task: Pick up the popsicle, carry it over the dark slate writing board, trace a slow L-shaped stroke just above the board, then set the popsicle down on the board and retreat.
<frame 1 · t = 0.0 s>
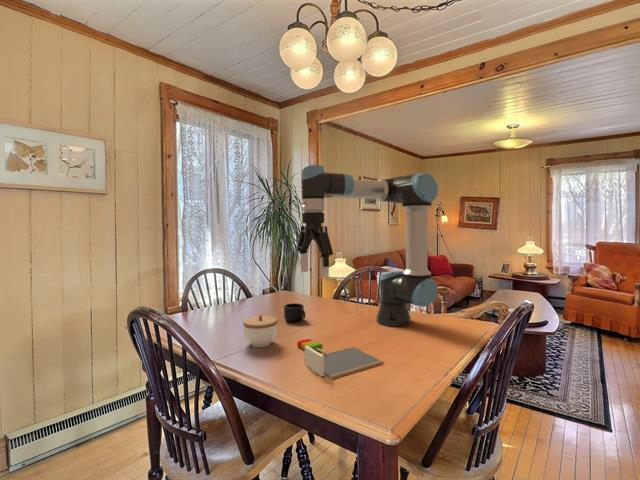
hand: (314, 274, 119), 28 cm above the table, fingers open, 13 cm apart
word card: (314, 369, 108), on the table
slate board: (343, 362, 114), on the table
popsicle: (313, 350, 124), on the table, touching slate board
mug: (296, 321, 161), on the table
lidded bowl: (261, 344, 132), on the table
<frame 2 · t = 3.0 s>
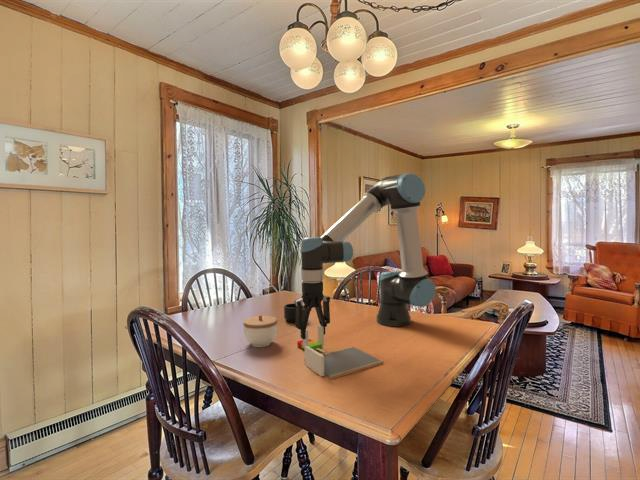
hand: (313, 345, 124), 2 cm above the table, fingers closed on popsicle, 6 cm apart
popsicle: (313, 350, 124), on the table, touching gripper
everything else where it was.
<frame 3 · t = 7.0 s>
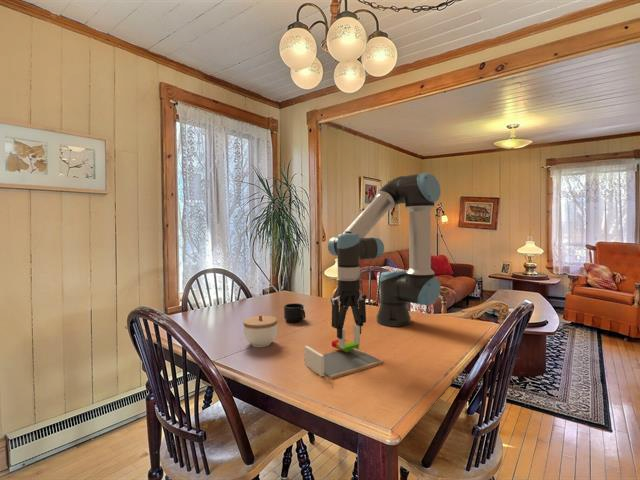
hand: (349, 345, 120), 3 cm above the table, fingers closed on popsicle, 6 cm apart
popsicle: (349, 350, 120), point 1 cm above the table, touching gripper
everything else where it was.
when the fingers open (3 cm above the table, at t = 11.2 s): popsicle stays where it is, resting on slate board.
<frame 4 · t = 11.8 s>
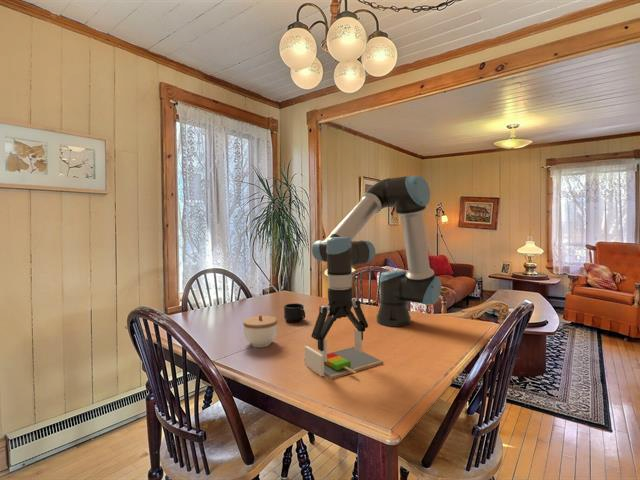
hand: (341, 355, 108), 4 cm above the table, fingers open, 12 cm apart
popsicle: (340, 367, 108), resting on slate board
everything else where it was.
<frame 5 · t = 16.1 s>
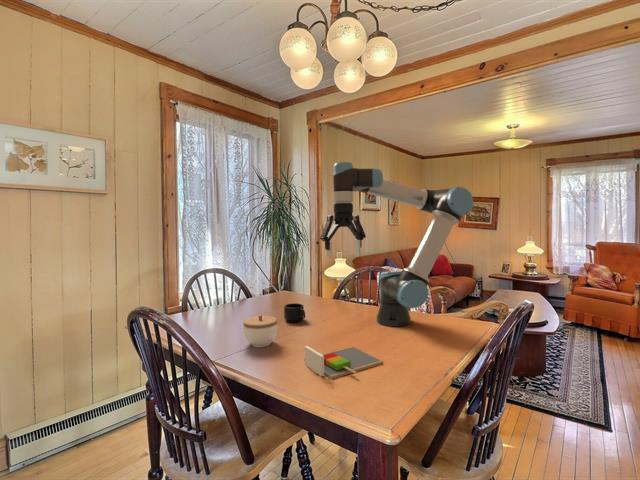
hand: (343, 257, 137), 32 cm above the table, fingers open, 13 cm apart
nothing on the table moved.
at the end: popsicle inside the target area on the slate board (5.7 cm from its centre), point 0.5 cm above the slate board's base; the gripper is holding nothing; popsicle moved 18.1 cm from its start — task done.
